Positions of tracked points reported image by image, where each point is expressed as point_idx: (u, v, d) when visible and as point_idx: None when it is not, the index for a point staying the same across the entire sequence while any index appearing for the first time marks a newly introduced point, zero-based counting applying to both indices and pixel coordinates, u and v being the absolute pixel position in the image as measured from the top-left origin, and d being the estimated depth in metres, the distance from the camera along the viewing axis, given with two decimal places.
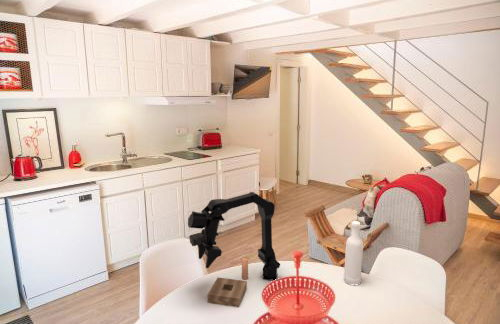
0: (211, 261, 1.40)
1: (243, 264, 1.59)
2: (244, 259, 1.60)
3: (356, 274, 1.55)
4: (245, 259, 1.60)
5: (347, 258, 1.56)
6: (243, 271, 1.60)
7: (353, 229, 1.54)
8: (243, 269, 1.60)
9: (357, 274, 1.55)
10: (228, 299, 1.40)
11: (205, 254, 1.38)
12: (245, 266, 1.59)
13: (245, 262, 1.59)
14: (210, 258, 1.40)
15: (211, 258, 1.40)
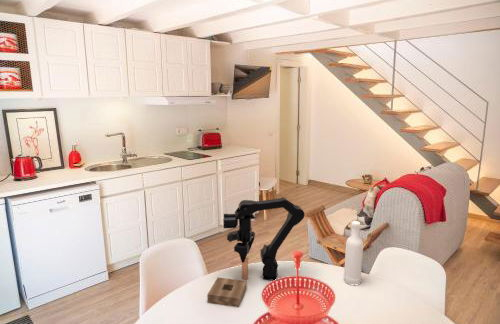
0: (244, 256, 1.54)
1: (243, 264, 1.59)
2: None
3: (356, 274, 1.55)
4: (245, 259, 1.60)
5: (347, 258, 1.56)
6: (243, 271, 1.60)
7: (353, 229, 1.54)
8: (243, 269, 1.60)
9: (357, 274, 1.55)
10: (228, 299, 1.40)
11: None
12: (245, 266, 1.59)
13: (245, 262, 1.59)
14: (242, 254, 1.54)
15: (243, 254, 1.54)
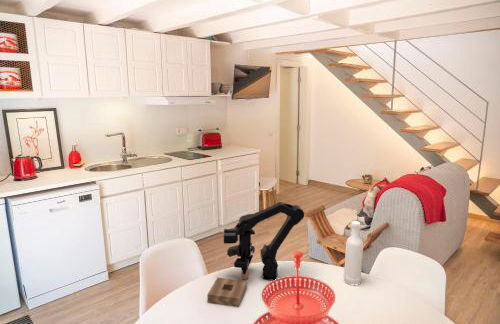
0: (245, 269, 1.58)
1: None
2: None
3: (356, 274, 1.55)
4: None
5: (347, 258, 1.56)
6: None
7: (353, 229, 1.54)
8: None
9: (357, 274, 1.55)
10: (228, 299, 1.40)
11: None
12: None
13: None
14: None
15: None
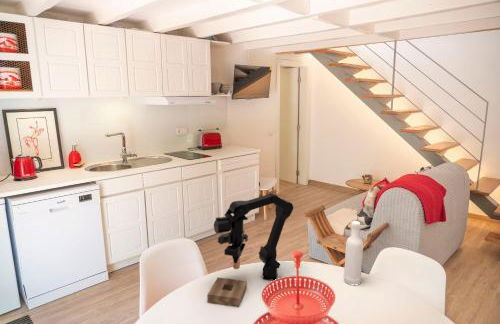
0: (236, 257, 1.50)
1: None
2: None
3: (356, 274, 1.55)
4: None
5: (347, 258, 1.56)
6: None
7: (353, 229, 1.54)
8: None
9: (357, 274, 1.55)
10: (228, 299, 1.40)
11: None
12: None
13: None
14: None
15: None
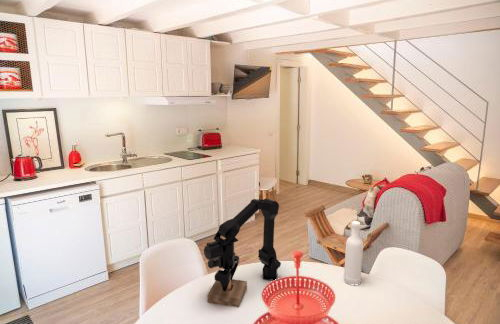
0: (225, 285, 1.40)
1: None
2: None
3: (356, 274, 1.55)
4: None
5: (347, 258, 1.56)
6: None
7: (353, 229, 1.54)
8: None
9: (357, 274, 1.55)
10: (228, 299, 1.40)
11: None
12: None
13: None
14: (224, 282, 1.40)
15: (225, 282, 1.40)
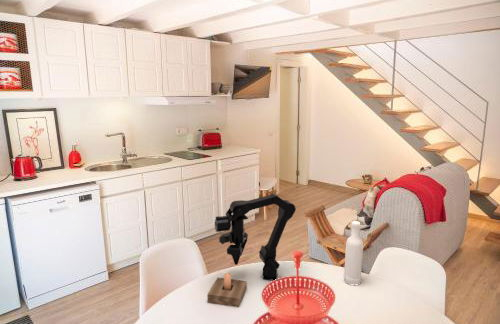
0: (237, 259, 1.50)
1: (225, 280, 1.45)
2: (226, 275, 1.45)
3: (356, 274, 1.55)
4: (228, 275, 1.45)
5: (347, 258, 1.56)
6: (225, 288, 1.46)
7: (353, 229, 1.54)
8: (225, 286, 1.45)
9: (357, 274, 1.55)
10: (228, 299, 1.40)
11: None
12: (228, 283, 1.45)
13: (227, 278, 1.45)
14: (235, 256, 1.50)
15: (236, 256, 1.49)
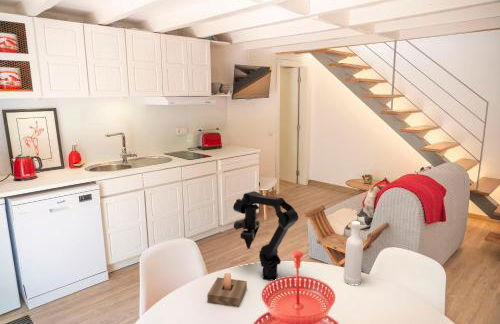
0: (249, 243, 1.65)
1: (225, 280, 1.45)
2: (226, 275, 1.45)
3: (356, 274, 1.55)
4: (228, 275, 1.45)
5: (347, 258, 1.56)
6: (225, 288, 1.46)
7: (353, 229, 1.54)
8: (225, 286, 1.45)
9: (357, 274, 1.55)
10: (228, 299, 1.40)
11: None
12: (228, 283, 1.45)
13: (227, 278, 1.45)
14: (248, 240, 1.65)
15: (248, 240, 1.65)
